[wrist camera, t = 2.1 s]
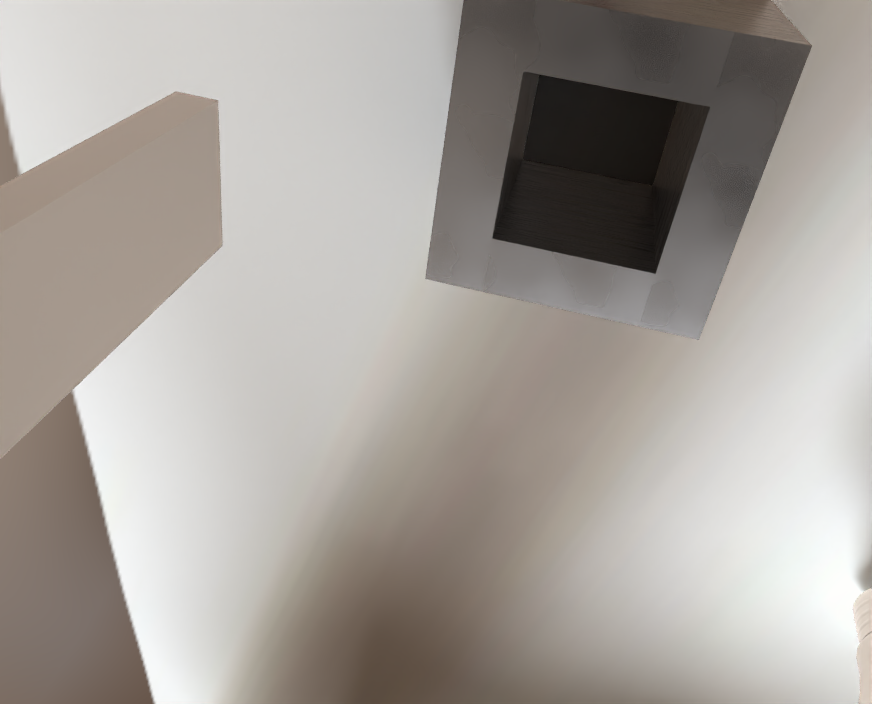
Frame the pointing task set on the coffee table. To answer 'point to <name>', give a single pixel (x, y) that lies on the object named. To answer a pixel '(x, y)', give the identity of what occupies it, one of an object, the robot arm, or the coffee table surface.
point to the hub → (600, 195)
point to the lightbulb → (864, 644)
